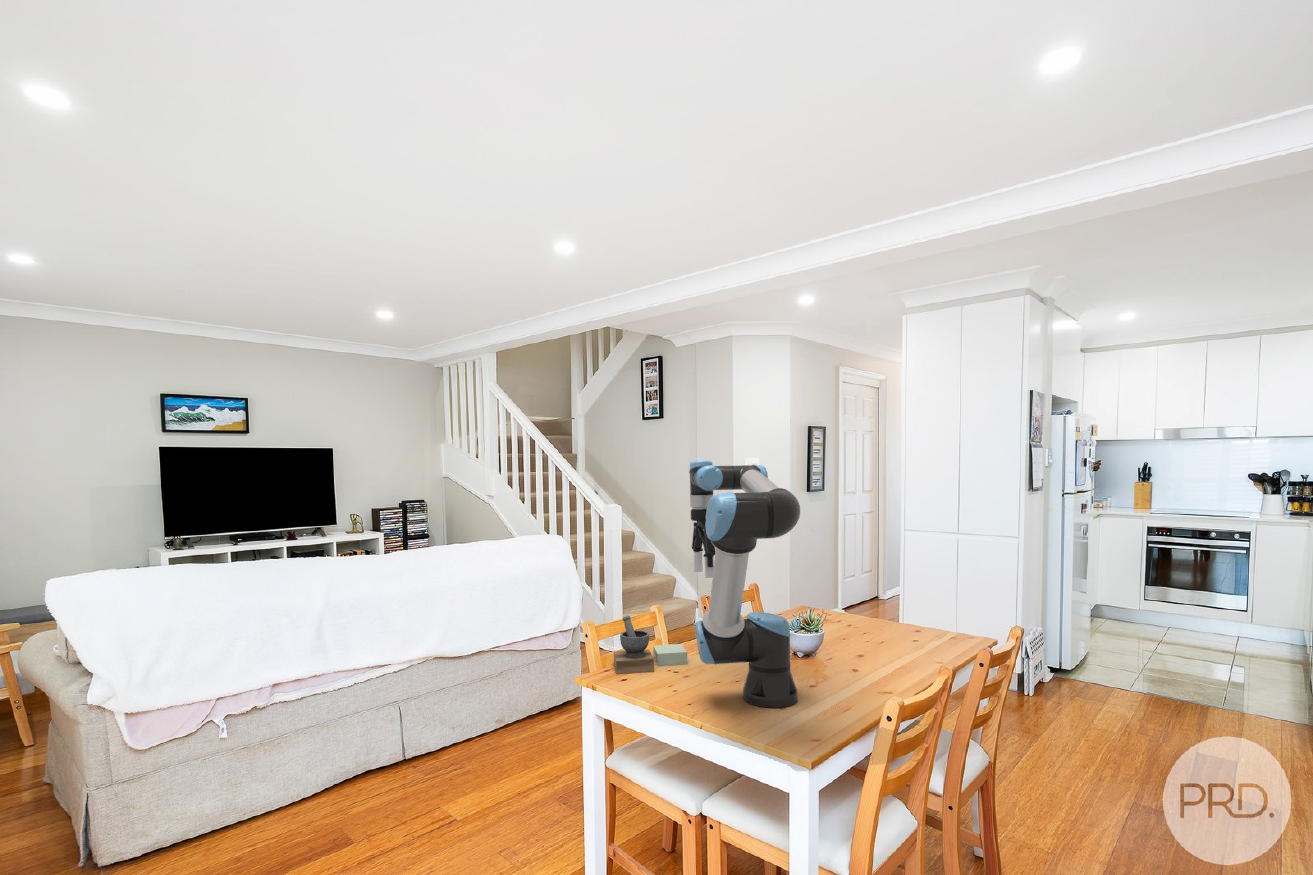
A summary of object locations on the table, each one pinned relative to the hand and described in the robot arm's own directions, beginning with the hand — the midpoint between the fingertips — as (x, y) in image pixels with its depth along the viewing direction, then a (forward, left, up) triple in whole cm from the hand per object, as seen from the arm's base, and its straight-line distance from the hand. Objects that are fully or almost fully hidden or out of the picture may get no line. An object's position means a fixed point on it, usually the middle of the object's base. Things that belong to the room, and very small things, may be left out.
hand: (703, 574), depth 207 cm
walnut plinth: (+9, +22, -31) cm, 39 cm away
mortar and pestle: (+9, +22, -27) cm, 36 cm away
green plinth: (+14, +9, -31) cm, 35 cm away
